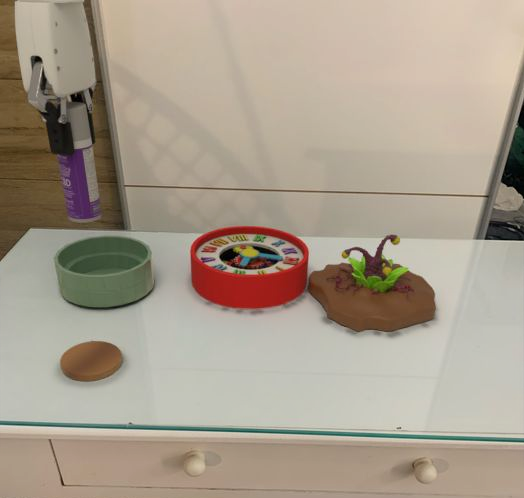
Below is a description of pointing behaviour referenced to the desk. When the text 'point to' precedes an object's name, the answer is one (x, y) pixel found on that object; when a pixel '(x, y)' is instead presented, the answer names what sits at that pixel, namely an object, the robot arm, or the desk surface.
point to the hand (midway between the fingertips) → (73, 146)
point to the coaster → (91, 361)
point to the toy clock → (249, 267)
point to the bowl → (104, 271)
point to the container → (80, 169)
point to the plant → (373, 292)
